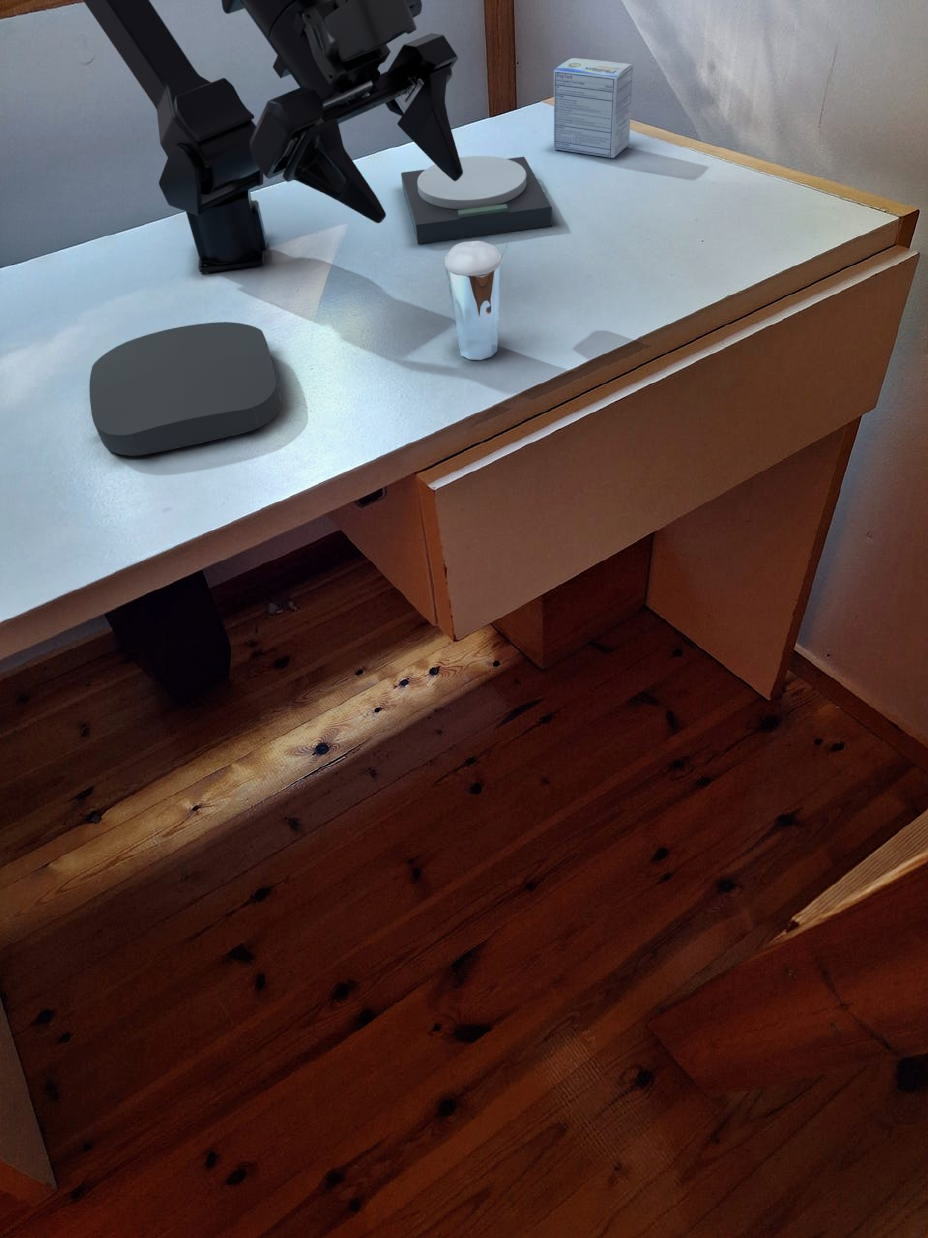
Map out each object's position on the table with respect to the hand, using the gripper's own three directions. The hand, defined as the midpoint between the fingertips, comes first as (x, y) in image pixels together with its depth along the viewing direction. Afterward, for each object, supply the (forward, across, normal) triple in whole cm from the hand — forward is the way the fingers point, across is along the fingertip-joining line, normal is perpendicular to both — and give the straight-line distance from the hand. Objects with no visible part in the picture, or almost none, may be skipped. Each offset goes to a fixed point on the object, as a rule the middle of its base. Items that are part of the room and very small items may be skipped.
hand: (422, 197), depth 71 cm
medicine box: (0, +42, +17) cm, 45 cm away
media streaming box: (+1, -19, +16) cm, 25 cm away
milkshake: (+12, 0, +5) cm, 13 cm away
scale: (-2, +22, +18) cm, 29 cm away
